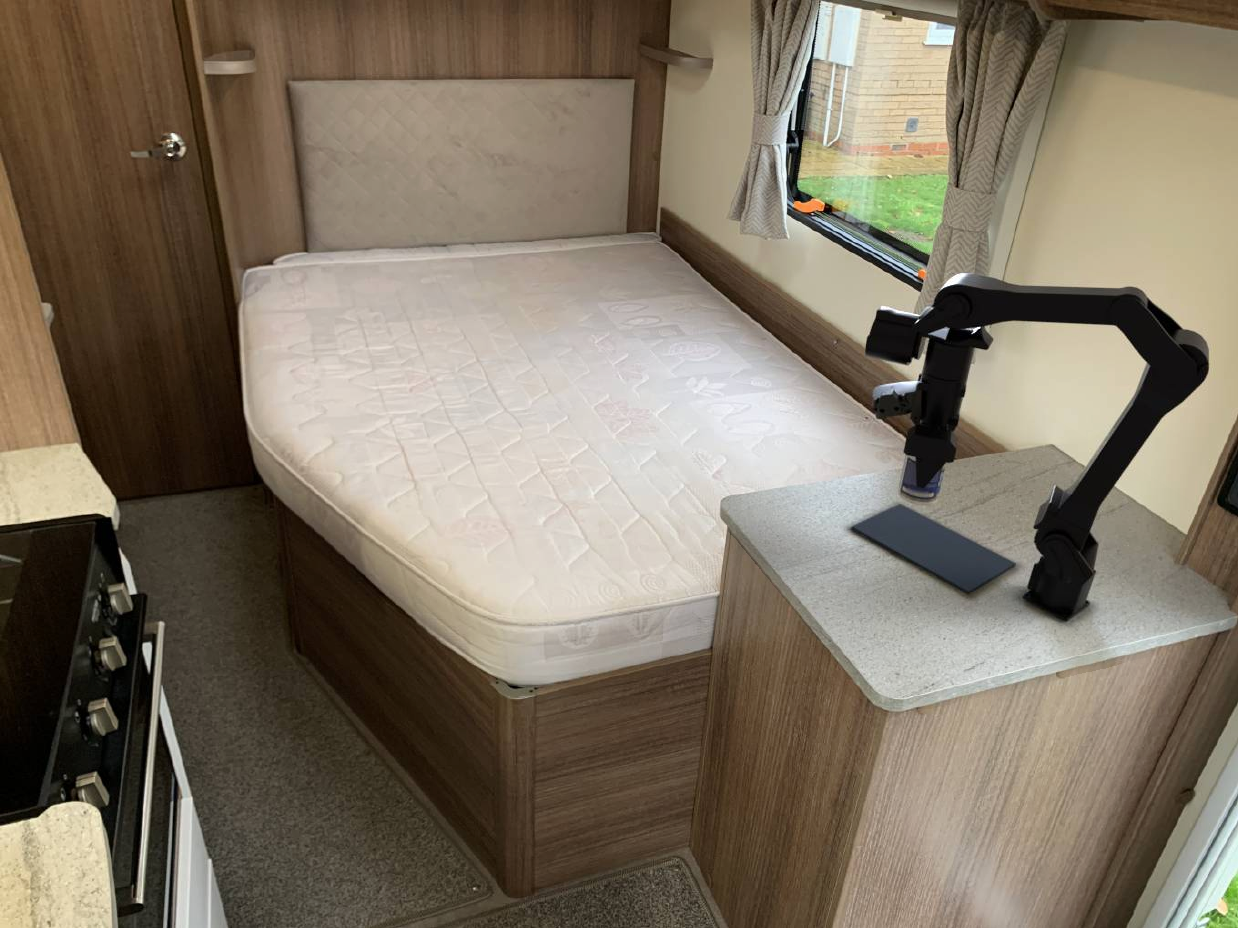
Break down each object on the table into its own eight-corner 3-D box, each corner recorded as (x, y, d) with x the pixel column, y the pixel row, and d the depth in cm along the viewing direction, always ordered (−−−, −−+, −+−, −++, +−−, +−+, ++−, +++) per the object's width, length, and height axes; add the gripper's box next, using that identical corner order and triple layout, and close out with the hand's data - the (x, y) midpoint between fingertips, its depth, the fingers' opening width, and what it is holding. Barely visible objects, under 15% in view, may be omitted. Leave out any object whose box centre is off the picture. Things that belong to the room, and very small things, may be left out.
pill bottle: (942, 507, 130) (957, 443, 125) (903, 505, 130) (916, 442, 125) (931, 488, 135) (945, 426, 130) (893, 486, 135) (906, 424, 130)
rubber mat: (1015, 566, 136) (1016, 563, 136) (968, 594, 129) (968, 591, 129) (899, 506, 149) (900, 503, 149) (851, 529, 142) (851, 526, 142)
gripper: (889, 340, 134) (870, 439, 141) (874, 387, 118) (853, 496, 125) (972, 353, 130) (948, 454, 138) (967, 403, 115) (941, 514, 122)
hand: (921, 477), depth 131 cm, fingers closed on pill bottle, 5 cm apart
